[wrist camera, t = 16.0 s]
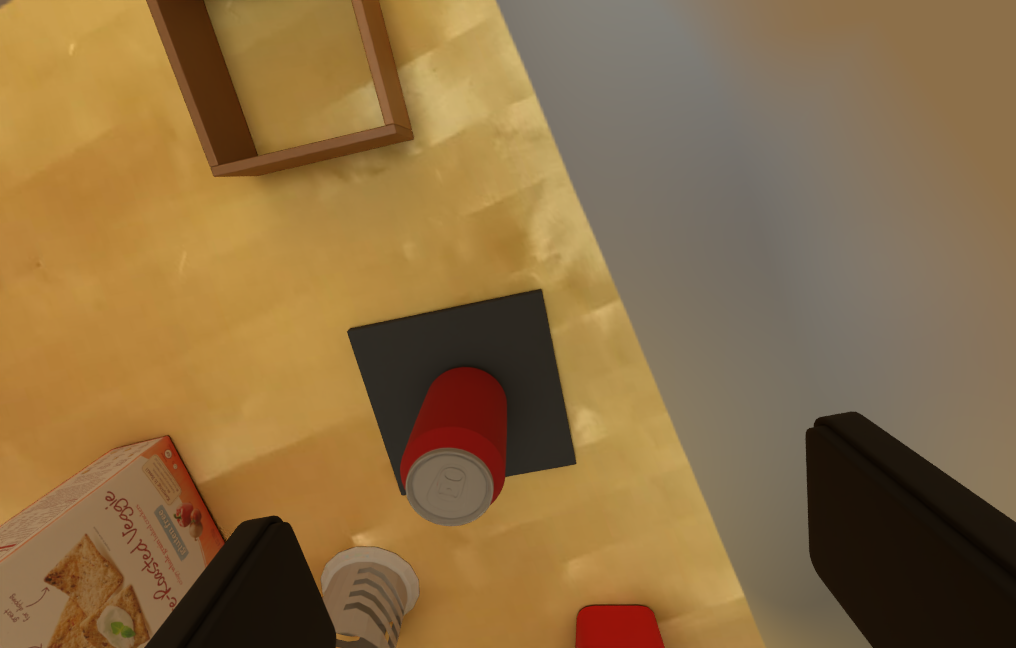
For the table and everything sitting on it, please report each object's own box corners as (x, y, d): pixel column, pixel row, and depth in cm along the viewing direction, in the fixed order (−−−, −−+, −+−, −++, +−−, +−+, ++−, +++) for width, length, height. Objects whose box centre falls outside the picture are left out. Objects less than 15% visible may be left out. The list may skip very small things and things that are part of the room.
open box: (364, -56, 31) (334, -102, 26) (414, 139, 35) (397, 133, 30) (190, -10, 32) (128, -45, 27) (257, 176, 36) (213, 177, 31)
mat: (541, 288, 38) (541, 291, 38) (575, 459, 43) (576, 464, 42) (349, 328, 39) (346, 331, 39) (403, 490, 44) (401, 495, 43)
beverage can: (419, 423, 41) (382, 520, 30) (438, 353, 39) (407, 428, 28) (494, 443, 42) (487, 546, 30) (517, 375, 40) (519, 457, 28)
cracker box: (238, 554, 47) (35, 841, 27) (182, 567, 47) (-60, 857, 27) (173, 431, 43) (-126, 660, 23) (111, 445, 43) (-234, 683, 23)
